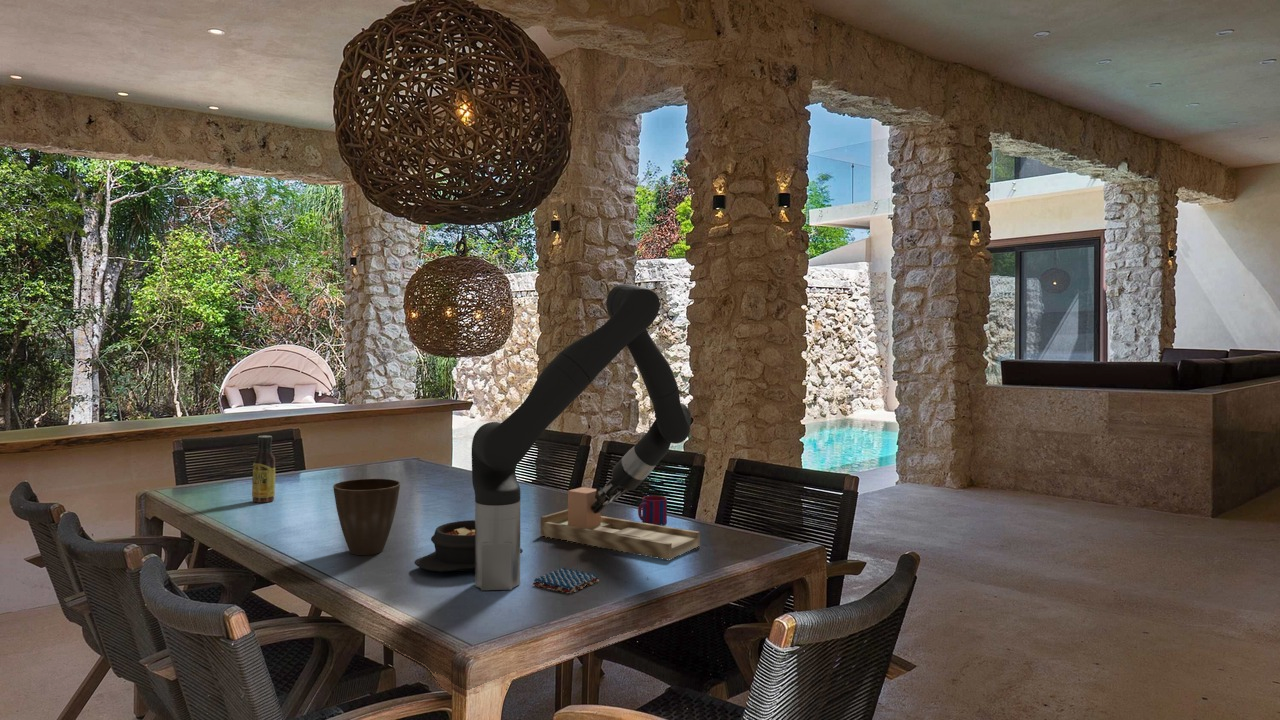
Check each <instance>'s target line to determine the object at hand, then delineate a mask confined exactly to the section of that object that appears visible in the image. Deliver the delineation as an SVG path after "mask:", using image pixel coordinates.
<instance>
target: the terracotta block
mask: <svg viewBox="0 0 1280 720" xmlns="http://www.w3.org/2000/svg"><path fill="white" fill-rule="evenodd" d="M596 490H597V488H592V487H584V486H582V487H581V486H580V487H577V488H574V489H570V490H567V509H568V525H569V526H575V527H581V528H586V529H588V528H591V527H594V526H597V525H600V524H601V516H602V514H601V513H602V510H601V511H600V512H599V513H596V514H595V513H594V512H593V510H592V509H591V506H592V505H593V504H594V503H595V502H596V501H597V499H596V498H595V494H596Z"/></svg>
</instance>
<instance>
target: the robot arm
mask: <svg viewBox="0 0 1280 720" xmlns="http://www.w3.org/2000/svg"><path fill="white" fill-rule="evenodd" d="M605 300H606V301H605V307H606V311H607V314H608V316H609V319H608V320H607V321H606V322H604V323H603V325H601V326H600V327H598V328H597V329H595V330H594V331H592V332H590V333H588V334H587V335H584V336H583V337H581V338H579V339H577V340H575V341H573V342H571V343H570V344H569V345H567V346H566V347H564V348H563V349H562V350H561V351H560V352H559V353H558V354H557V355H555V357H554V358H553V359H552V360H551V361H550V362H549V363H547V365H546V367H545V368H544V369H543V370H542V371H541V373H540V374H539V376H538V377H537V379H536V380H535V382H534V385H533V386H532V388H531V390H530V391H529V393H528V395H527V397H526V398H525V400H523V402H522V403H521V405H519V407H517V408H516V410H514V411H513V412H512V413H511V414H510V415H509V416H508V417H506V419H504V420H503V421H502V422H500V421H491V422H486V423H484V424H482V425H481V426H479V427H478V428H477V430H476V432H475V433H474V435H473V437H472V441H471V481H472V487H473V490H474V520H475V571H474V584H475V587H476V588H479V589H480V591H503V590H504V591H507V590H513V588H515V587H517V586H519V585H520V584H521V554H520V548H521V487H520V485H519V481H518V480H517V479H518V478H517V475H516V466H517V465H518V464H519V463H520V462H521V461H522V460H523V458H525V456H526V455H527V454H528V453H529V451H530V450H531V448H532V447H533V446H534V445H535V443H536V441H537V440H538V439H539V438H540V437H541V435H542V434H543V433H544V432H545V431H546V429H547V428H548V427H549V426H550V425H551V424H552V423H553V422H554V421H555V420H556V419H557V418H558V417H560V415H561V414H562V413H563V412H564V411H565V410H566V409H567V408H568V407H569V406H570V405H571V404H572V403H573V402H574V401H575V400H576V399H577V398H578V397H579V396H580V395H581V394H582V393H583V392H584V391H585V390H586V389H587V388H588V387H589V386H590V384H592V383H593V381H594V380H595V379H596V377H597V376H598V375H599V374H600V373H601V372H602V371H603V370H604V369H606V367H607V366H608V365H609V364H611V362H612V361H614V359H615V358H616V357H617V356H618V354H620V353H621V351H622V350H624V348H626V347H627V349H628V350H629V353H630V355H631V356H632V359H633V360H634V363H635V365H636V367H637V368H638V371H639V374H640V376H641V378H642V381H643V383H644V386H645V388H646V391H647V394H648V396H649V399H650V400H651V402H652V403H651V404H652V406H653V410H654V415H655V420H654V421H653V423H652V424H651V426H650V427H649V429H648V430H647V432H646V433H645V434H644V435H643V436H641V438H640V439H639V440H638V441H637V443H636V444H635V445H634V446H633V447H632V448H629V450H628V451H627V452H626V453H625V454H624V455H623V456H622V457H621V459H620V460H619V461H618V462H617V463H616V464H615V465H614V466H613V468H612V470H611V474H612V478H610V479H608V481H607V482H606V484H605V486H603V487H601V486H600V487H596V489H597V490H596V494H595V498H596V499H597V501H596V502H595V503H594V504H593V505H592V506H591V509H592V510H593V512H594V513H595V514H596V513H599V512H600V511H601V512H602V510H603V509H604V508H605V507H606V506H607V505H610V504H611V503H612V502H615V501H617V500H619V498H620V497H622V496H624V495H625V494H626V493H627V492H629V491H635V489H636V488H638V486H640V484H641V483H642V482H644V480H645V479H646V478H647V477H648V476H649V475H650V474H651V473H652V471H653V470H654V469H655V467H656V466H657V465H658V464H659V463H660V462H661V460H662V459H663V458H664V457H665V456H666V455H667V453H668V452H669V450H670V447H671V445H672V444H680V443H683V442H685V441H686V440H687V438H688V437H689V435H690V431H691V423H692V422H691V419H692V416H691V415H692V414H691V411H690V409H689V407H688V406H686V405H685V404H684V403H681V398H680V397H681V395H680V389H679V386H678V383H677V380H676V377H675V375H674V372H673V369H672V368H671V365H670V364H669V361H668V360H667V358H666V357H665V356H664V354H663V353H662V351H660V349H659V348H658V346H657V345H656V343H655V342H654V340H653V338H652V336H651V335H650V333H649V332H648V328H649V327H650V326H651V325H653V323H654V321H655V320H656V319H657V317H658V315H659V311H660V308H661V302H660V297H659V295H658V294H657V292H655V291H654V290H652V289H650V288H648V287H645V286H640V285H635V284H628V283H621V284H618V285H615V286H614V287H613V288H612V289H610V291H609V292H608V294H607V297H606V299H605Z"/></svg>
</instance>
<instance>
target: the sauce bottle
mask: <svg viewBox="0 0 1280 720" xmlns="http://www.w3.org/2000/svg"><path fill="white" fill-rule="evenodd" d="M257 443H258V444H257V451H256V454H255V457H254V459H253V463H252V479H251V481H252V484H251V485H252V487H251V488H252V489H251V490H252V491H251V493H252V494H251V496H252V502H253V503H259V504H264V503H265V504H266V503H269V502H273V501H274V500H275V495H276V493H275V492H276V489H275V488H276V456H275V455H274V454H273V451H272V450H273V448H272V443H273V436H272V435H258V436H257Z"/></svg>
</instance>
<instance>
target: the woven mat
mask: <svg viewBox="0 0 1280 720" xmlns="http://www.w3.org/2000/svg"><path fill="white" fill-rule="evenodd" d="M533 581H534V582H532V586H533V585H536V586H539V587H538V588H540V587H544V588H543V589H545V588H551V589H554V590H557V591H556V592H558V591H562V592H561V593H563V592H569V593H574V592H575V593H577V591H576V590H579V589H582V590H583V589H584V588H583V587H585V586H586V585H587V586H592V585H594V584H593V583H597V582H598V583H599V582H600V578H599V575H596V573H592V574H591V573H590V572H584V571H582V570H581V571H578V570H577V569H575V570H572V568H568V569H566V567H562V568H557V570H553V571H552V572H548V573H546V574H543V575H540V576H539V577H537V578H536V577H535V578H534V580H533ZM594 581H595V582H594ZM543 583H544V584H543ZM536 586H535V587H536ZM561 587H562V588H561ZM578 588H579V589H578ZM554 590H553V591H554Z"/></svg>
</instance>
